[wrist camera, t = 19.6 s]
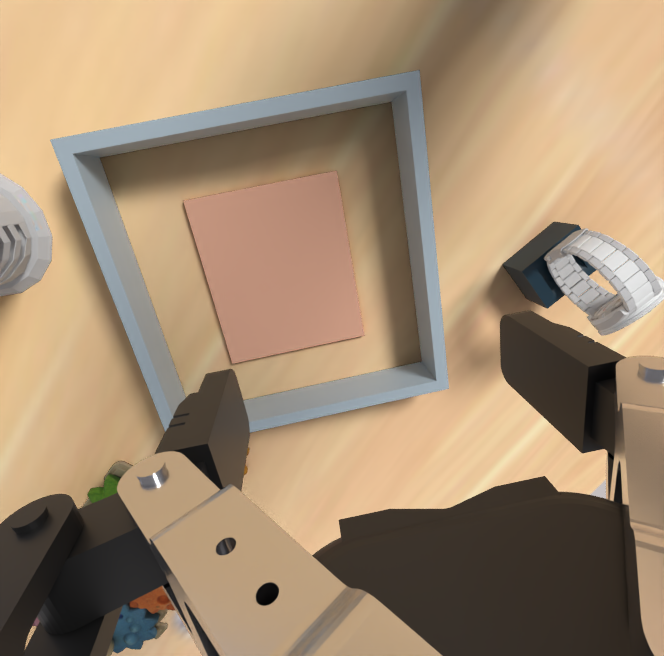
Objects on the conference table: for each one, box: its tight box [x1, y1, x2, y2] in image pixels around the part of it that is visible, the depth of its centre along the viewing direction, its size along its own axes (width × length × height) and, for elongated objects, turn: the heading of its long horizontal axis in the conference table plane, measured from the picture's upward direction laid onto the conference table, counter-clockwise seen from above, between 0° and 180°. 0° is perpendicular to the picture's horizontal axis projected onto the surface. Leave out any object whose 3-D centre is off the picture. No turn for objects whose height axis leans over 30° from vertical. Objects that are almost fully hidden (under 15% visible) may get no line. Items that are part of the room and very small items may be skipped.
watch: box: [503, 222, 664, 335], centre depth 31 cm, size 6×8×11 cm
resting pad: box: [183, 171, 364, 364], centre depth 33 cm, size 14×12×1 cm
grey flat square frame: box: [50, 70, 449, 432], centre depth 32 cm, size 24×24×4 cm
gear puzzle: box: [32, 448, 249, 656], centre depth 40 cm, size 31×16×4 cm, turn 141°
